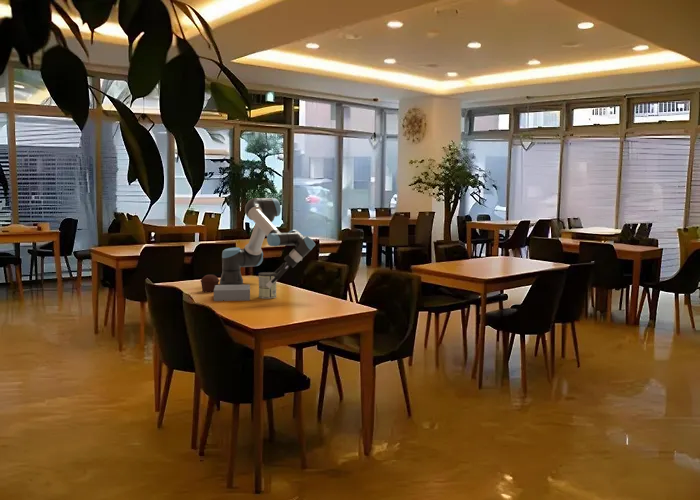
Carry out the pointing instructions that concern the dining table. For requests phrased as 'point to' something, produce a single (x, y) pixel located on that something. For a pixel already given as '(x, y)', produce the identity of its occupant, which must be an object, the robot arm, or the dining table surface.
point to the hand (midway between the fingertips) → (267, 284)
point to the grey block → (231, 292)
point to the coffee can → (263, 289)
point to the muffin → (209, 283)
